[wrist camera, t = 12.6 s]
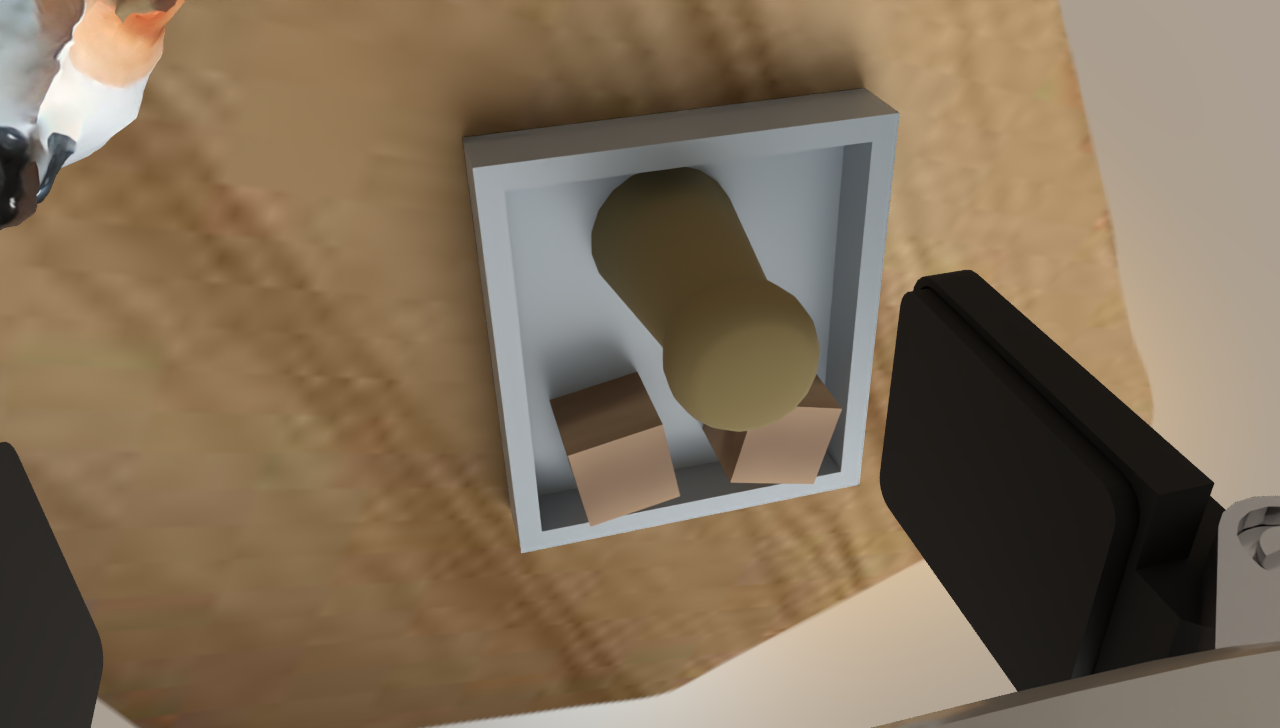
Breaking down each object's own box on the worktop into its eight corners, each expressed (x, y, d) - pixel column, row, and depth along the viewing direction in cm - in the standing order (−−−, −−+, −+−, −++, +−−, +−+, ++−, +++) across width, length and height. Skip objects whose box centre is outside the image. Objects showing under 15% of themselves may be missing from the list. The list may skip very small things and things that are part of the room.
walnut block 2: (724, 353, 46) (756, 404, 43) (805, 359, 47) (842, 408, 44) (702, 428, 48) (730, 482, 45) (780, 431, 49) (813, 484, 46)
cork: (563, 214, 41) (635, 364, 32) (700, 136, 40) (811, 264, 31) (630, 326, 44) (712, 489, 35) (756, 255, 44) (871, 401, 35)
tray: (462, 137, 39) (472, 167, 36) (864, 87, 42) (899, 113, 39) (510, 509, 48) (521, 553, 46) (833, 446, 52) (859, 484, 49)
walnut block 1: (549, 400, 45) (567, 456, 42) (637, 371, 45) (662, 424, 42) (571, 469, 47) (590, 526, 44) (655, 441, 48) (680, 496, 44)
